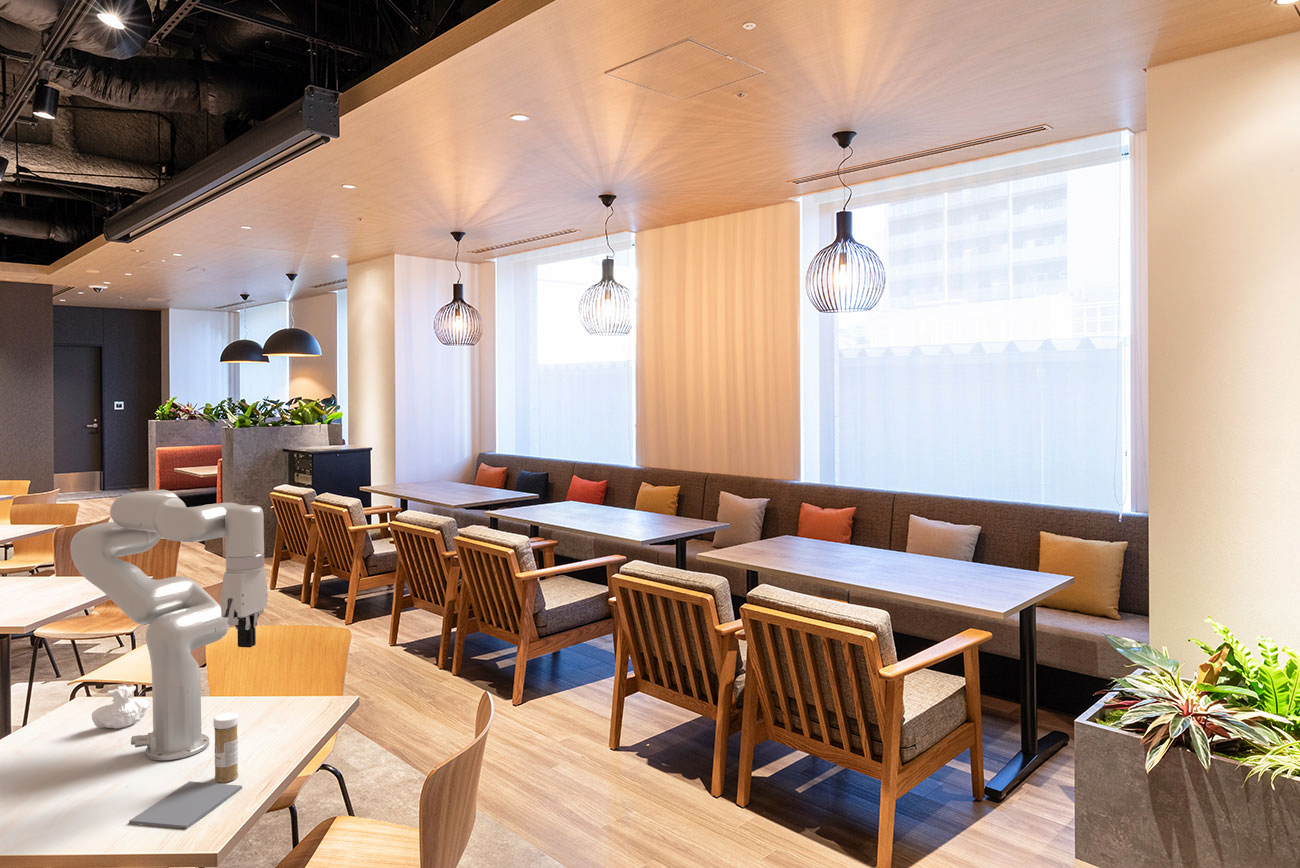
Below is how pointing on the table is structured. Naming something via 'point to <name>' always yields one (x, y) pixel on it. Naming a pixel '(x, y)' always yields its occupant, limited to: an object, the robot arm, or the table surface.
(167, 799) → the mat
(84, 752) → the table surface
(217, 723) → the sprinkles bottle
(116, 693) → the white tied bag
